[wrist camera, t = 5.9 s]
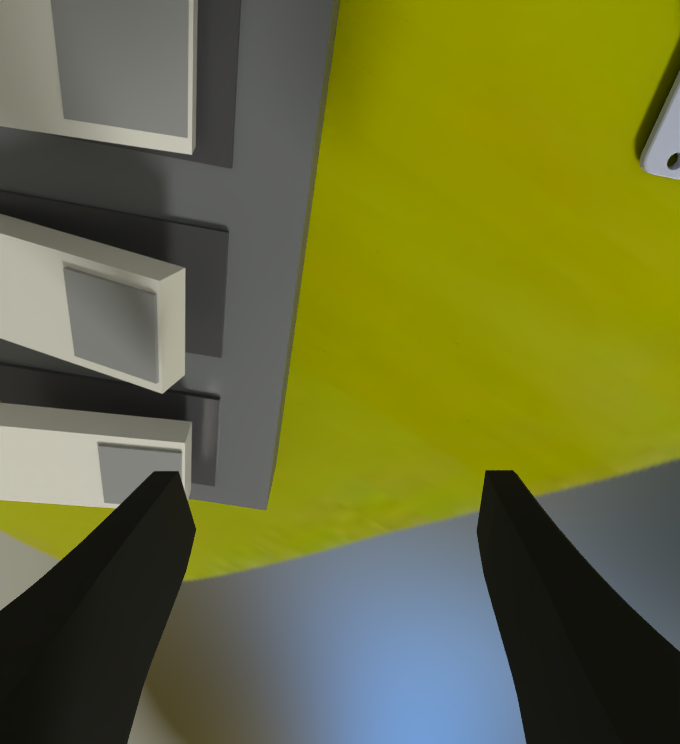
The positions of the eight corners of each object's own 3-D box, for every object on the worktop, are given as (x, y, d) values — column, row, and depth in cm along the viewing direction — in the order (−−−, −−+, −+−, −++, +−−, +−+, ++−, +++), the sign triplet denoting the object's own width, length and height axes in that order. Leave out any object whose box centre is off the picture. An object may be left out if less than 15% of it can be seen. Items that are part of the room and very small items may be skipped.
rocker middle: (185, 267, 14) (157, 282, 13) (184, 374, 16) (159, 396, 14) (-21, 207, 15) (-63, 216, 14) (2, 314, 17) (-34, 329, 16)
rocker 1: (198, -16, 12) (193, -22, 11) (195, 146, 14) (191, 155, 12) (-156, -96, 10) (-204, -113, 9) (-103, 100, 12) (-138, 106, 11)
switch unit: (346, -49, 14) (343, -76, 11) (275, 467, 24) (265, 513, 22) (-129, -152, 13) (-246, -205, 11) (8, 425, 24) (-35, 468, 21)
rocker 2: (191, 421, 18) (184, 445, 17) (190, 490, 20) (183, 516, 19) (-13, 401, 17) (-35, 425, 16) (6, 475, 19) (-13, 501, 18)
